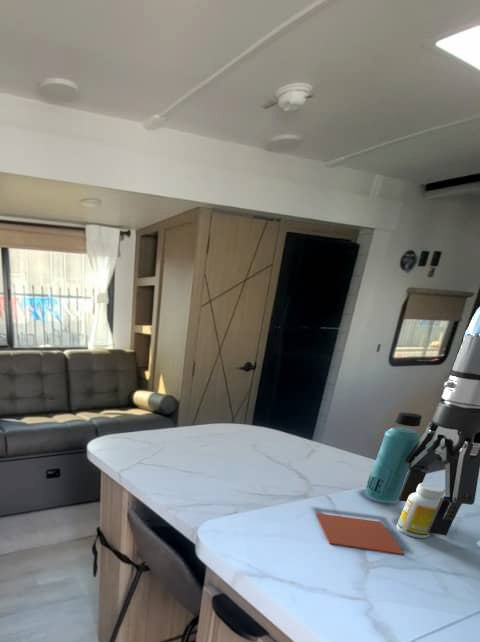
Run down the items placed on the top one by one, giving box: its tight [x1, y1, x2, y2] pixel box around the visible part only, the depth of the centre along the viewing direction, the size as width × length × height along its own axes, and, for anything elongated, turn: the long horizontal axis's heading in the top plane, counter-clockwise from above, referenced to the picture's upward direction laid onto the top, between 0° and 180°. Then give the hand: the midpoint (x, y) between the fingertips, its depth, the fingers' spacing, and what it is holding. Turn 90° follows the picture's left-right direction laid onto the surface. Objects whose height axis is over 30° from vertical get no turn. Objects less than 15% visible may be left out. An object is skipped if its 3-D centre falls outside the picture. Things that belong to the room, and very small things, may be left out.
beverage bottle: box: [365, 411, 423, 503], centre depth 86 cm, size 6×7×20 cm
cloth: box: [315, 512, 405, 556], centre depth 78 cm, size 12×12×1 cm
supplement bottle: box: [396, 482, 445, 539], centre depth 77 cm, size 5×5×10 cm
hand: (419, 516), depth 77 cm, fingers open, 13 cm apart
